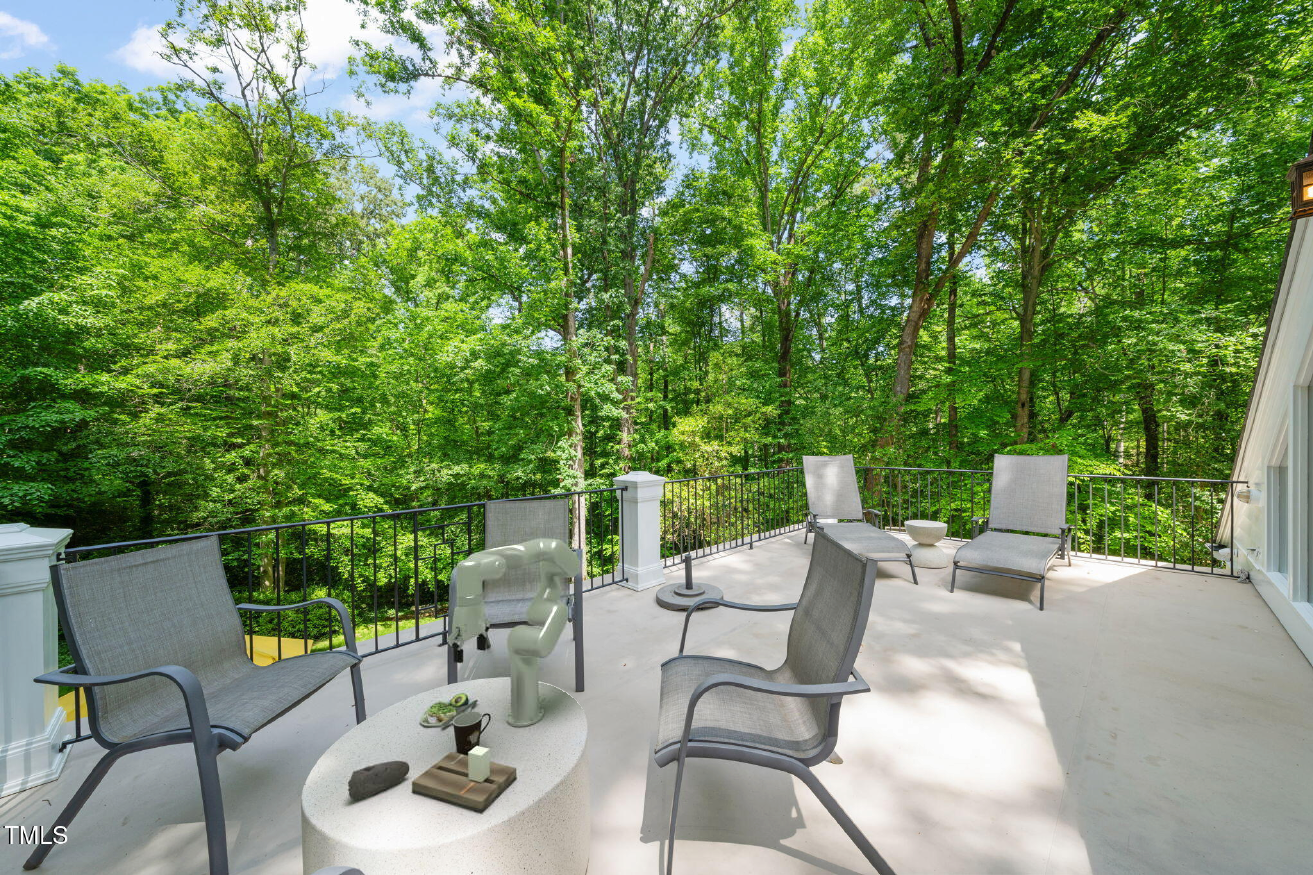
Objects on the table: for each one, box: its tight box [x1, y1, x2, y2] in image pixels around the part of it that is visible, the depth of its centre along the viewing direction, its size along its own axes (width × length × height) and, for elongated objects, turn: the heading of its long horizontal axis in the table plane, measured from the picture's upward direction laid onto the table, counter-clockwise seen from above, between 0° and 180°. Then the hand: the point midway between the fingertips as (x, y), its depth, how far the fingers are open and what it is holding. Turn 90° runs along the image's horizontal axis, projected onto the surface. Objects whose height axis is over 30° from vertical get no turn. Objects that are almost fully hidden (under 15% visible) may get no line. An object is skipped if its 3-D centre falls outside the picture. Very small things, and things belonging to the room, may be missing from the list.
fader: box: [468, 745, 491, 782], centre depth 130 cm, size 3×4×9 cm
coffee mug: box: [452, 710, 492, 756], centre depth 148 cm, size 12×9×10 cm
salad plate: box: [419, 692, 479, 728], centre depth 168 cm, size 19×18×5 cm
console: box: [411, 751, 517, 814], centre depth 131 cm, size 14×24×3 cm, turn 69°
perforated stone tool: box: [347, 760, 411, 801], centre depth 131 cm, size 15×5×7 cm, turn 125°
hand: (470, 655), depth 146 cm, fingers open, 9 cm apart
